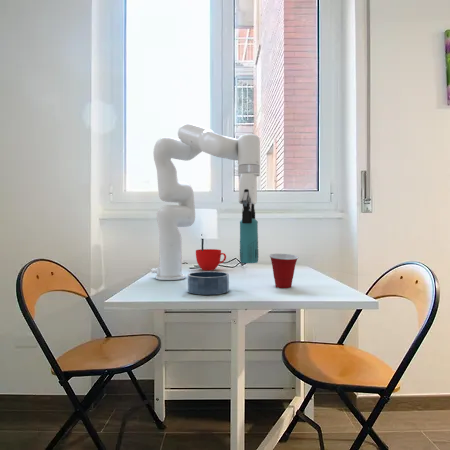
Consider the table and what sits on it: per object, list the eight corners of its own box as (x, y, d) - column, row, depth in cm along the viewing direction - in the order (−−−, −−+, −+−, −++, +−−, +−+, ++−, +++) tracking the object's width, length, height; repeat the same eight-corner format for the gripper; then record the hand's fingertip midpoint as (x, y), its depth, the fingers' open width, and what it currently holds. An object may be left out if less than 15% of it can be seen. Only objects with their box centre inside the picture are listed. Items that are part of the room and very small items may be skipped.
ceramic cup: (218, 272, 168) (218, 251, 168) (190, 270, 177) (190, 250, 177) (232, 269, 179) (232, 250, 179) (205, 267, 188) (205, 248, 188)
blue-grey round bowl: (186, 295, 115) (186, 277, 115) (189, 287, 130) (189, 271, 130) (229, 295, 116) (229, 277, 116) (227, 287, 130) (227, 271, 130)
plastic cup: (280, 290, 124) (280, 256, 124) (263, 285, 134) (263, 254, 134) (304, 288, 129) (304, 255, 129) (286, 283, 139) (286, 253, 139)
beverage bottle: (257, 267, 117) (257, 208, 117) (237, 267, 119) (237, 208, 119) (259, 265, 124) (259, 208, 124) (240, 265, 125) (240, 209, 125)
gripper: (242, 175, 130) (242, 223, 131) (232, 168, 114) (232, 223, 114) (263, 174, 129) (263, 223, 129) (255, 167, 112) (255, 223, 112)
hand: (248, 222), depth 121 cm, fingers closed on beverage bottle, 6 cm apart
